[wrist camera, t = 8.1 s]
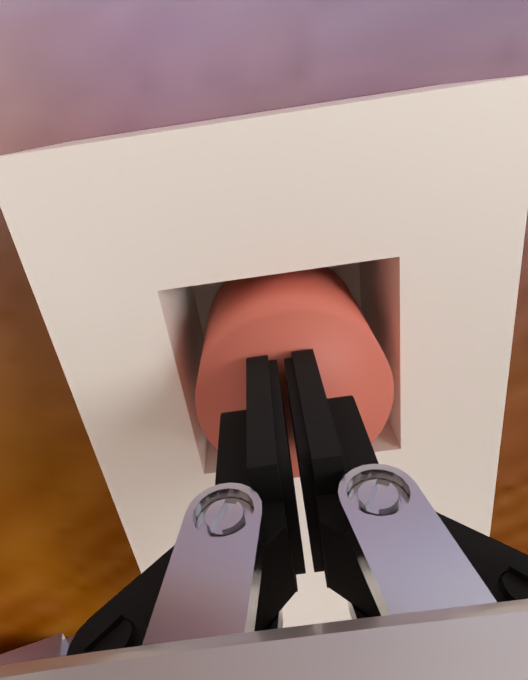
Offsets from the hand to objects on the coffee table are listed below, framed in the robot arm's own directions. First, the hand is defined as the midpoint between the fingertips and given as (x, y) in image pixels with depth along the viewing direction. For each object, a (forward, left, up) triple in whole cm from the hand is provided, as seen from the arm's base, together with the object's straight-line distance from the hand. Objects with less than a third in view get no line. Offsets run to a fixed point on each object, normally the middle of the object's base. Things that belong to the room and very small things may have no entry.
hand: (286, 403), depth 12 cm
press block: (0, +7, -7) cm, 10 cm away
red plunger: (0, 0, -5) cm, 5 cm away
